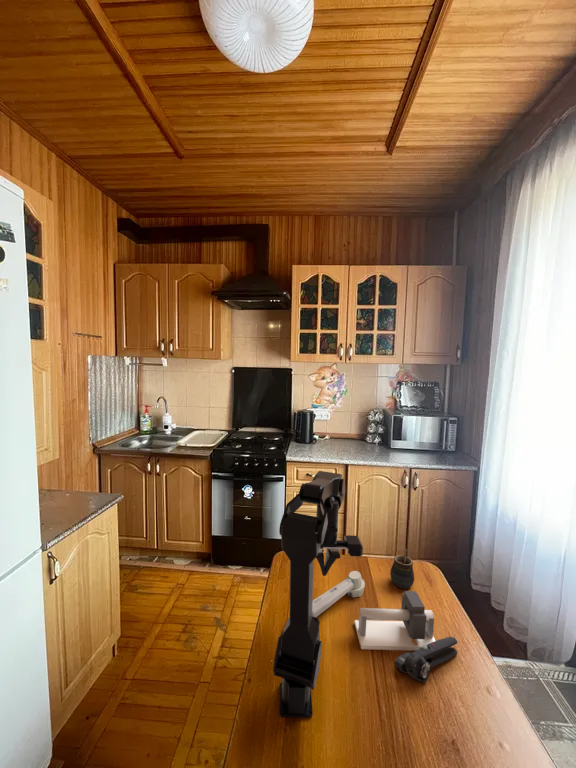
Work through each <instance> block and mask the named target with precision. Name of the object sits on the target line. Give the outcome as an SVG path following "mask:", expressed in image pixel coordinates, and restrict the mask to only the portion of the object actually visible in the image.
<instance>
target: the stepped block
mask: <svg viewBox="0 0 576 768" xmlns="http://www.w3.org/2000/svg"><path fill="white" fill-rule="evenodd" d="M401 597H402V598H401V608H400V609H408V611H409V613H410V620H409V621H403V622H404V625H405V627H406V629H407V631H408V633H409V636H410V637H412V639H425V627H426V615H425V613H424V610H426V609H425V607H426V606H425V605H424V603H423V602H422V600H421V598H420V596H419V594H418V593H417V591H414V590H404V592H402V595H401Z"/></svg>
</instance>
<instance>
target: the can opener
mask: <svg viewBox="0 0 576 768" xmlns="http://www.w3.org/2000/svg"><path fill="white" fill-rule="evenodd" d="M457 644H458V640H457V638H455V637H453V636H448V637H444V638H440V639H437V640H436V641H434V642H432V643H430V644H428V645H423V647H422V648H420V649H418V650H417V651H413V652H411V651H407V652H403V653H401V654H399V655H398V656H397V657H396V658H395V660H394V665H395V666H396V667H397V669H398V670H399V671H400V672H402V673H407V674H408V675H409V676H410V677H411V678H412V679H414V680H416V681H419V682H422V683H426V682H427V681H428V680H429V672H430V671H431V670H432V669H433V668H434V667H435V666H437V665H440V664H442V663H445V662H447V661H449V660H451V659H452V658H453V657H455V656H457V654H458V651H457V649H456V647H453V646H455V645H457Z"/></svg>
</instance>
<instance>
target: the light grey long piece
mask: <svg viewBox="0 0 576 768" xmlns="http://www.w3.org/2000/svg"><path fill="white" fill-rule="evenodd" d="M365 587H366V582H365V580H364V579H363V578H362V575H361V573H360V571H358V570H352V571H350V572H349V573H348V575H347V578H345V579H344V580H343V581H341V582H339V583H338V584H336V585H334V586H333V587H332V588H330V589H328V590H327V591H325V592H324V593H322V594H320V595H319V596H317V597H316V598H315V599H312V616H313V617H316V618H318V616H320V615H321V614H322V613H324V611H326V610H327V609H329V608H330V607H331V606H332V605H333V604H335V603H336V602H337V601H339V600H340V599H341V598H342V597H343V596H345V595H346V594H347V596H349V597H350V598H353V599H355V598H358V597H359V598H360V597H362V595H363V593H364V591H365Z"/></svg>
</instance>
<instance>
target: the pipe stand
mask: <svg viewBox="0 0 576 768" xmlns="http://www.w3.org/2000/svg"><path fill="white" fill-rule="evenodd" d="M358 613H359V615H358V617H359V618H358V619H355V620H354V627H355V630H356V634H357V639H358V642H359V646H360V649H361V650H375V651H376V650H379V651H381V650H384V651H413V652H415V651H417V650H418V649H420V648H422V647H423V645H428V644H430V643H432V642H434V641H437V640H436V638H435V637H434V625H435V617H434V613H433V610H432V609H425V610H424V613H425V615H426V627H425V639H412V637H410V636H409V633H408V631H407V629H406V627H405V625H404V622H403V621H409V620H410V613H409V611H408V609H401V608H377V607H376V608H371V607H360V608H359V612H358Z"/></svg>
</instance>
